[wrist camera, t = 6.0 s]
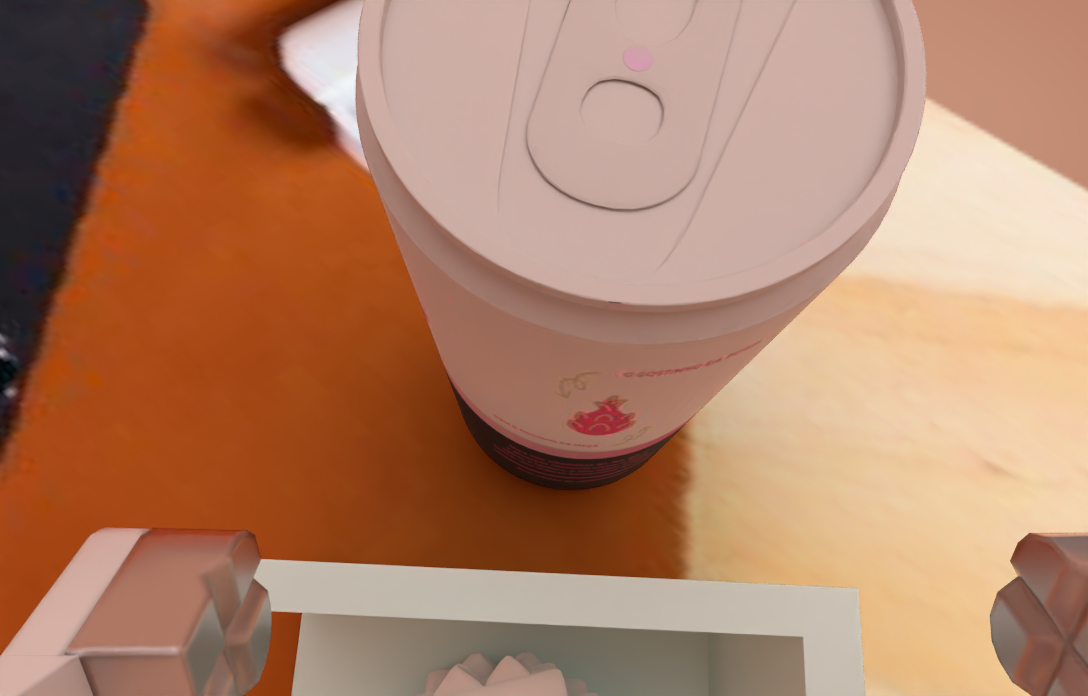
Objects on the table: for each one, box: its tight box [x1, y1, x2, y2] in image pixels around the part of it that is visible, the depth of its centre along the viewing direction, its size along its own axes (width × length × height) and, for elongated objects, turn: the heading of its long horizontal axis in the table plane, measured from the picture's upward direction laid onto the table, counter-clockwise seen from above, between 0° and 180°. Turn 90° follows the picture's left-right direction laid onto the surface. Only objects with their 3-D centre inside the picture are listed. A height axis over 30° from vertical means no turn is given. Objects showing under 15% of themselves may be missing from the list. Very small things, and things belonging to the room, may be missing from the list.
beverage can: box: [356, 0, 926, 490], centre depth 16 cm, size 7×7×15 cm
